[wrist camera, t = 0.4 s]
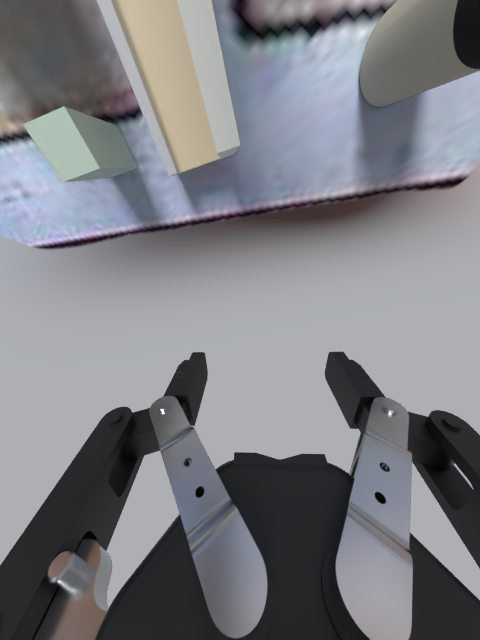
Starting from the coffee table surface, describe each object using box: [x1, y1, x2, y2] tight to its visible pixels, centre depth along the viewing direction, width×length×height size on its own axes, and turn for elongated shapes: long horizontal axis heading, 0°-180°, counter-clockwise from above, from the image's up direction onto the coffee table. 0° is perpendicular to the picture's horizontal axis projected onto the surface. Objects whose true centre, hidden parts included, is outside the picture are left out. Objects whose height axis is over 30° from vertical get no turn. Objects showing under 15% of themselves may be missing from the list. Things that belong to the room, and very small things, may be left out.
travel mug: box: [360, 0, 480, 107], centre depth 16 cm, size 8×8×18 cm
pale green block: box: [23, 106, 138, 182], centre depth 23 cm, size 4×4×11 cm
